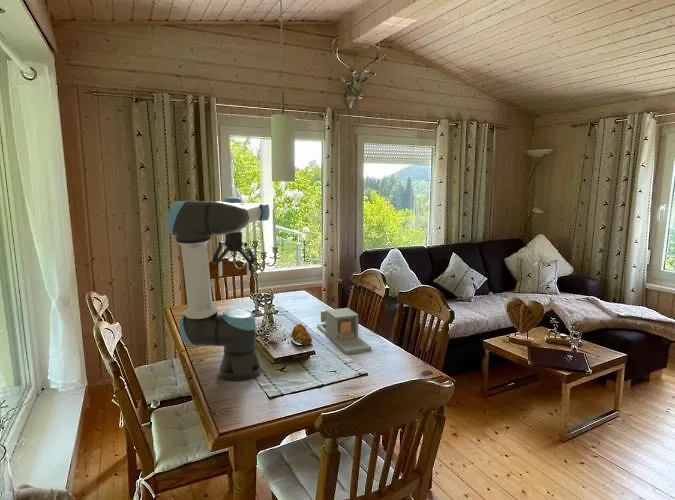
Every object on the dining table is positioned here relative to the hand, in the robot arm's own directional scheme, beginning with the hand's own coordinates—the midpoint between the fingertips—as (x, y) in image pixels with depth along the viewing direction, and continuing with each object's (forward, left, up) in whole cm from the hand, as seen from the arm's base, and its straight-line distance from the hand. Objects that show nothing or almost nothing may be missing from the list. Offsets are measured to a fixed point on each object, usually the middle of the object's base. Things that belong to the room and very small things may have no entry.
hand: (234, 276), depth 198 cm
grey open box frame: (-16, -45, -26) cm, 54 cm away
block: (-25, -45, -24) cm, 57 cm away
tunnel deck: (-24, -45, -27) cm, 58 cm away
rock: (-22, -25, -28) cm, 43 cm away
